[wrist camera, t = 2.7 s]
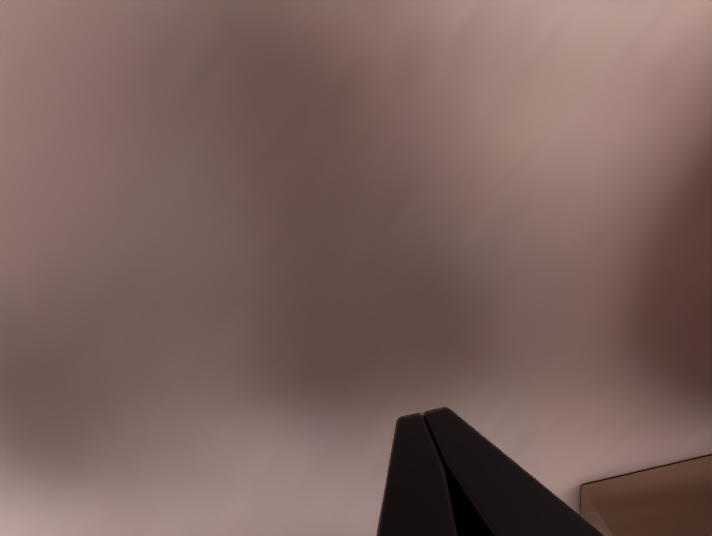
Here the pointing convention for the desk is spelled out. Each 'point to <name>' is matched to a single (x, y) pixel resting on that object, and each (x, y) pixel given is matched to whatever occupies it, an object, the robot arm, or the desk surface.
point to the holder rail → (653, 501)
